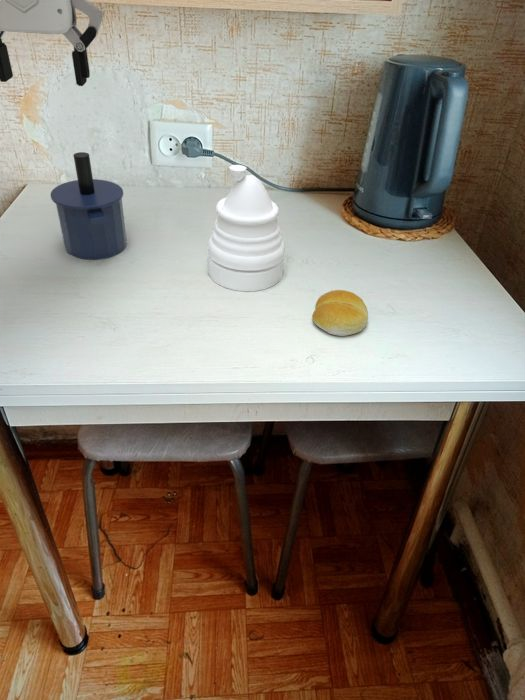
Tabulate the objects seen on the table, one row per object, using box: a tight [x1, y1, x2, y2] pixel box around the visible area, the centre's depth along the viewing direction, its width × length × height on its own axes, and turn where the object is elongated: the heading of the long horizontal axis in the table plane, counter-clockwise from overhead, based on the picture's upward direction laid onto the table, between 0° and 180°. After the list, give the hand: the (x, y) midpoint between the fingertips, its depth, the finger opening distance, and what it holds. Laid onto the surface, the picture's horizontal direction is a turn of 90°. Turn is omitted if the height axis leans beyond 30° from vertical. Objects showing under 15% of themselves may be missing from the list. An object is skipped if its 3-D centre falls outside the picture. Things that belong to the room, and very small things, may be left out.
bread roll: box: [311, 289, 369, 337], centre depth 77 cm, size 8×9×4 cm
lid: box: [50, 151, 124, 210], centre depth 84 cm, size 12×12×7 cm
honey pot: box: [207, 164, 285, 292], centre depth 82 cm, size 13×13×18 cm
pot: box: [55, 197, 128, 261], centre depth 89 cm, size 11×16×10 cm, turn 25°
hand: (44, 81), depth 68 cm, fingers open, 9 cm apart
